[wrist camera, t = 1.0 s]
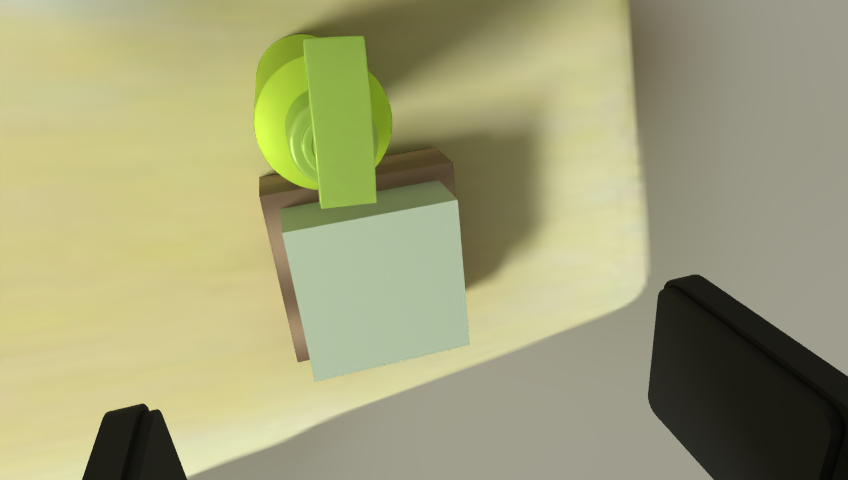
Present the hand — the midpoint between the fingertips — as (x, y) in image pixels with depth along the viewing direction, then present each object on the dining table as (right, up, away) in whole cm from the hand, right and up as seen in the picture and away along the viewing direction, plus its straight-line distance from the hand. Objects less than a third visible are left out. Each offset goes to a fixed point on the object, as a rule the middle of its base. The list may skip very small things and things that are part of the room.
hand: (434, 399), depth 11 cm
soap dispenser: (-8, +13, +26) cm, 30 cm away
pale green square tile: (-4, +1, +27) cm, 28 cm away
